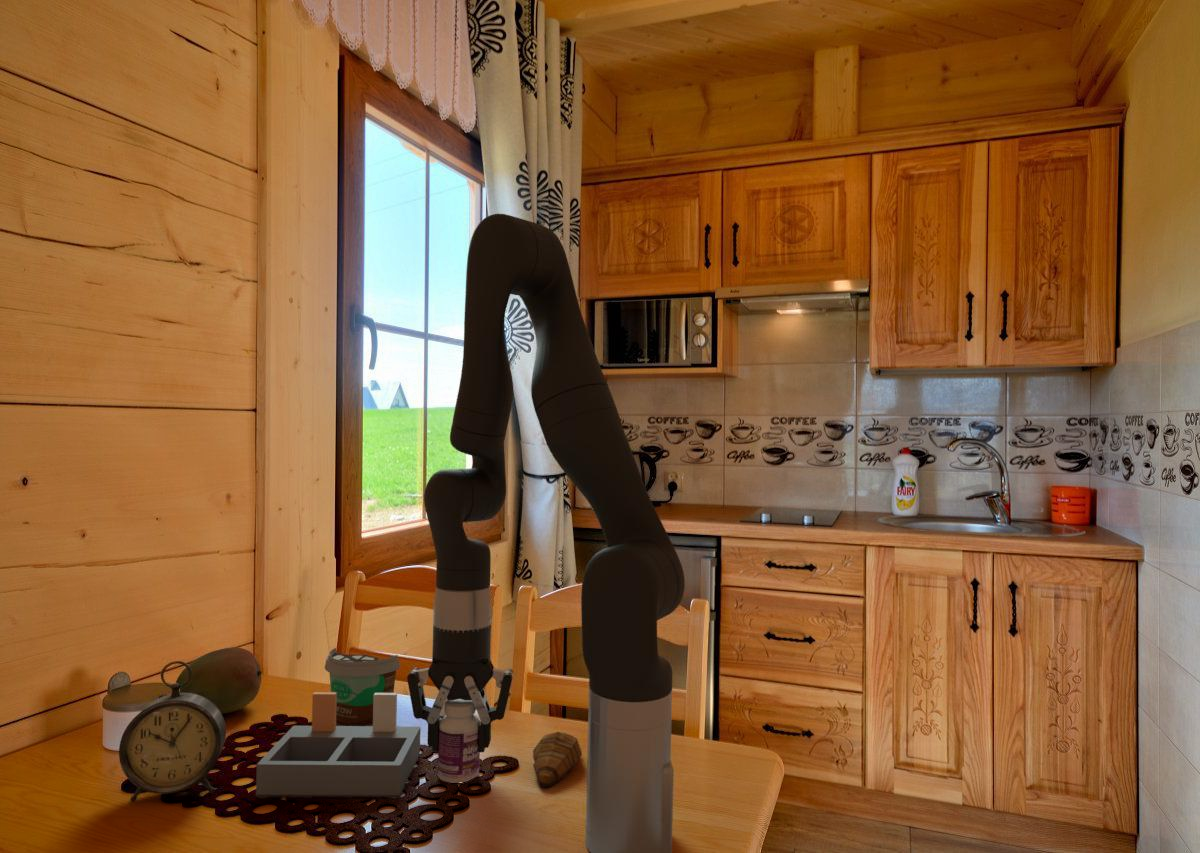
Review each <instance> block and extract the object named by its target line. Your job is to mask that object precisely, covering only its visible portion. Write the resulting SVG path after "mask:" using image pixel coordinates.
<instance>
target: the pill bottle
mask: <svg viewBox="0 0 1200 853" xmlns="http://www.w3.org/2000/svg"><path fill="white" fill-rule="evenodd" d="M444 712H445V715H446V716H444V717H441V721H440V724H439V748H438V752H437V754H438V758H437V759H438V760H437V775H438V776H437V777H438V779H440V780H441V781H442V780H443V781H442V782H444V781H446V782H450V783H459V782H466V781H469V780H471V779H473V778H475V777H476V776H477V775H479V773H480V759H481V758H480V753H481V752H479V724H480V721H481V720H480V717H479V716H478V715H476V714H475V713H476V712H477V710H476V709H475V707H474V704H473V702H472V700H462V699H456V700H447V701H446V702H445V711H444ZM477 777H478V776H477ZM477 777H476V778H477ZM476 778H475V779H476ZM473 780H474V779H473ZM471 781H472V780H471ZM446 782H445V783H446ZM469 782H470V781H469ZM450 783H449V784H450ZM466 783H467V782H466Z"/></svg>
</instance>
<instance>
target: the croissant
mask: <svg viewBox="0 0 1200 853" xmlns="http://www.w3.org/2000/svg"><path fill="white" fill-rule="evenodd" d="M582 755H583V754H582V749H581V747H580V744H579V741H578V738H577V737H575V736H574V735H571V734H570V733H567V732H561V731H556V732H552V733H549V734H548V733H547V734H545V735H544V736H542V737H541V739H540V740H539V742H537V744H536V746H535V747H534V748H533V750H532V758H533V761H534V763H533V765H532V766H533V769H534V773H535V776H536V778H537V781H538V784H539V786H540V787H543V788H550V787H552V786H554V785H556V784H558V783H559V782H560V781H562V780H563V779H564V778H565V776H566V775H567V774H568V773H569V772H570V771H571V770H572V769H573V768H574V766H575V765H576V764H577V762H578V761H579V759H580V758H581V757H582Z"/></svg>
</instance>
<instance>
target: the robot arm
mask: <svg viewBox="0 0 1200 853" xmlns="http://www.w3.org/2000/svg"><path fill="white" fill-rule="evenodd" d="M564 248H565V247H564V246H563V244H562V242H561V240H560V238H559V237H558V236H557V234H556V233H555V232H554V231H553V230H552V229H550V228H548V227H547V226H545V225H542V224H540V223H536V222H533V221H530V220H526V219H523V218H520V217H517V216H514V215H510V214H505V213H494V214H489V215H487V216H486V217H485V218H484V219H482V220H481V221H480V222H479V223H478V224H477V226H476V227H475V229H474V231H473V233H472V236H471V238H470V242H469V247H468V251H467V259H466V260H467V261H466V270H465V271H466V272H465V274H466V275H465V276H466V277H465V298H464V318H463V319H464V321H463V325H464V326H463V332H464V333H463V351H462V354H463V356H462V365H461V373H460V379H459V385H458V386H459V387H458V391H457V398H456V402H455V407H454V413H453V417H452V423H451V427H450V433H449V435H450V436H449V442H450V445H451V446H452V448H454V449H455V450H456V451H458V452H460V453H462V454H465V455H469V456H471V457H472V459H471V460H472V466H471V468H444V469H440V470H437V471H436V472H434V473H433V474H432V475H431V476H430V478H429V480H428V481H427V483H426V486H425V489H424V494H423V501H424V508H425V513H426V516H427V517H426V518H427V521H428V524H429V529H430V533H431V538H432V542H433V546H434V550H435V555H436V565H435V566H436V572H435V574H436V576H435V593H434V594H435V595H434V599H433V612H432V614H433V616H432V617H433V618H432V650H431V651H432V653H431V655H432V656H431V658H432V659H431V663H430V666H429V667H426V668H421V669H420V668H419V667H413V668H412V669H411V671H410V672H409V673H408V675H407V676H406V681H407V686H408V690H409V691H408V692H409V696H410V704H411V709H412V714H413V716H414V718H415V719H417V720H419V719H421V720H424V721H426V722H427V723H426V724H427V745H428V746H427V747H428V748H432V749H431V750H432V751H431V752H432V753H433V752H434V753H438V748H439V724H440V721H441V720H442V717H440V716H439V714H440V712H441V710H442V708H443V705H444V703H445V701H446V699H448V700H456V699H462V700H472V702H473V704H474V707H475V709H476V712H477V714H478V715H477V716H478V718H479V720H480V724H479V752H480V753H485V751H486V748H489V746H490V744H491V741H492V723H493V722H494V721H496V720H499V721H501V720H503V719H504V717H505V713H506V710H507V704H508V701H509V696H510V691H511V687H512V682H513V678H514V670H513V669H511V668H506V670H503V669H499V668H495V667H494V665H493V662H492V660H491V650H492V649H491V644H492V641H491V640H492V618H493V610H492V594H491V568H492V567H491V564H492V563H491V561H492V560H491V558H492V556H491V554H492V553H491V549H490V546H489V545H488V543H486V541H483V540H480V539H479V540H478V539H474V538H468V536H467V534H466V532H465V530H464V523H472V522H473V523H474V522H483V521H488V520H491V519H494V518H495V516H497V515H498V514H499V512H500V511H501V509H502V507H503V506H504V504H505V501H506V496H507V480H506V479H507V477H506V460H505V459H506V458H505V457H506V455H505V439H506V436H507V431H508V426H509V420H510V417H511V416H510V415H511V413H512V412H511V411H512V407H513V401H514V382H513V376H512V375H513V373H512V370H511V365H510V362H509V358H508V353H507V347H506V341H505V319H506V318H505V317H506V310H507V306H508V303H509V299H510V296H511V295H514V296H519V298H520V299H521V300H522V302H523V304H524V306H525V309H526V311H527V313H528V316H529V318H530V321H531V324H532V328H533V332H534V334H535V342H536V343H535V344H536V351H535V357H534V363H533V368H532V375H531V376H532V377H531V385H530V386H531V389H530V392H531V400H532V405H533V408H534V411H535V415H536V417H537V418H536V419H538V422H539V426H540V429H541V432H542V435H543V438H544V441H545V443H546V445H547V446H546V447H547V448H548V449H549V451H550V453H551V455H552V457H553V458H554V460H555V462H556V463H557V464H558V465H559V467H560V469H562V471H563V472H564V474H565V475H566V476H567V478H569V480H570V481H571V482H572V483H573V484H574V486H575V487H576V488H577V489H578V491H579V492H580V493H581V494H582V496H583V497H584V499H585V500H586V501H587V502H588V503H589V505H590V507H591V508H592V510H593V512H594V514H595V516H596V518H597V521H598V522H599V525H600V528H601V531H602V533H603V536H604V540H605V543H606V546H607V547H605V548H603V549H601V550H599V551H598V552H596V553H595V554H594V555H593V556H592V557H591V558H590V560H589V562H588V563H587V565H586V567H585V570H584V573H583V577H582V581H581V582H582V583H581V592H580V593H581V596H580V599H581V600H580V601H581V603H580V607H581V608H580V610H581V611H580V612H581V644H582V646H581V648H582V651H581V652H582V656H583V661H584V665H585V667H586V670H587V672H588V713H587V714H588V717H587V718H588V719H587V721H588V723H587V724H588V725H587V756H586V757H587V761H586V762H587V763H586V765H587V768H586V801H585V802H586V807H585V808H586V809H585V811H586V812H585V813H586V815H585V816H586V817H585V845H586V846H585V847H587V849H588V852H590V853H673V820H674V818H673V817H674V816H673V814H674V813H673V812H674V776H675V775H674V774H675V772H674V766H673V763H672V759H671V755H672V754H671V753H672V716H673V715H672V712H673V711H672V710H673V709H672V706H673V703H672V702H673V669H672V665H671V662H669V661H668V659H667V658H664V657H663V656H662V655H659V650H658V648H659V647H658V646H659V644H658V621H659V620H661V619H663V618H666V617H667V616H669V615H671V614H673V612H674V611H675V610H676V609H677V608H678V607H679V606H680V604H681V602H682V600H683V597H684V594H685V587H686V584H685V582H686V581H685V573H684V569H683V566H682V562H681V560H680V558H679V555H678V554H677V550H676V549H675V547H674V545H673V543H672V541H671V539H670V536H669V535H668V532H667V530H666V528H665V526H664V525H663V523H662V519H660V517H659V514H658V512H657V510H656V508H655V507H654V504H653V502H652V499H651V498H650V496H649V494H648V491H647V488H646V486H645V483H644V480H643V478H642V475H641V473H640V469H639V466H638V464H637V460H636V459H635V456H634V454H633V450H632V448H631V445H630V443H629V440H628V438H627V434H626V432H625V430H624V429H625V428H624V427H623V424H622V420H621V418H620V414H619V412H618V408H617V406H616V404H615V401H614V398H613V396H612V395H613V394H612V392H611V390H610V387H609V384H608V382H607V379H606V377H605V375H604V372H603V370H602V368H601V365H600V362H599V360H598V357H597V354H596V351H595V349H594V346H593V343H592V340H591V337H590V333H589V331H588V329H587V326H586V323H585V320H584V318H583V313H582V311H581V308H580V304H579V300H578V296H577V292H576V288H575V284H574V280H573V275H572V273H571V272H572V271H571V268H570V265H569V264H570V263H569V260H568V258H567V254H566V251H565V249H564ZM428 678H429V679H430V680H431V682H432V683H433V684H434V686H435V687H436V689H437V690H438V694H437V695H436V697H435V700H434V702H433V705H432V707H430V706H428V705H427V702H426V697H425V692H424V691H425V690H424V686H425V685H426V683H427V679H428ZM492 678H493V679H494V681H495V686H496V687H497V688H499V694H498V699H497V703H496V706H494V707H491V705H490V703H489V701H488V700H489V699H488V695H487V693H486V690H485V687H486V686H487V685H488V684H489V682H490V680H491V679H492Z"/></svg>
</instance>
